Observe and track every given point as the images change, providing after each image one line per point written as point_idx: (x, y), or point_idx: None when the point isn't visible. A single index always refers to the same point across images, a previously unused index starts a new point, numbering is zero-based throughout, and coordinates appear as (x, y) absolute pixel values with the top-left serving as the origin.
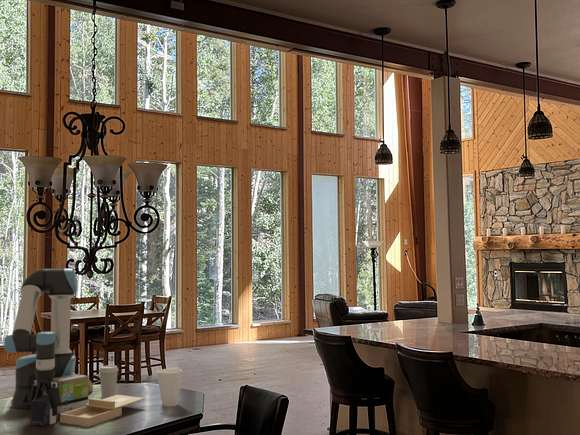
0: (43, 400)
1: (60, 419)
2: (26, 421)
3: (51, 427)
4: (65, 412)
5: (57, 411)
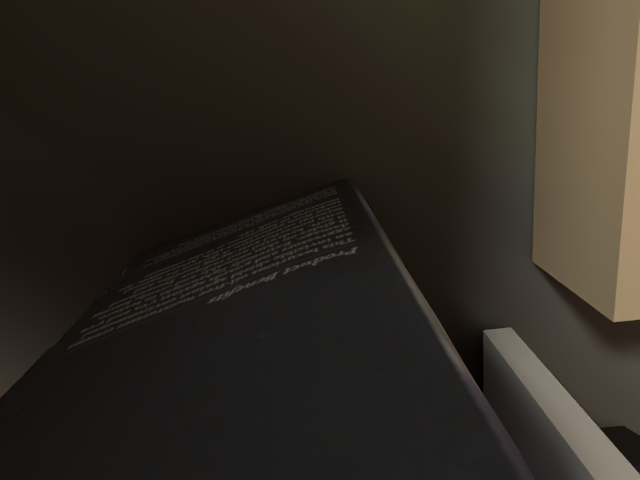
0: None
1: (560, 278)
2: None
3: None
4: (631, 182)
5: (374, 217)
